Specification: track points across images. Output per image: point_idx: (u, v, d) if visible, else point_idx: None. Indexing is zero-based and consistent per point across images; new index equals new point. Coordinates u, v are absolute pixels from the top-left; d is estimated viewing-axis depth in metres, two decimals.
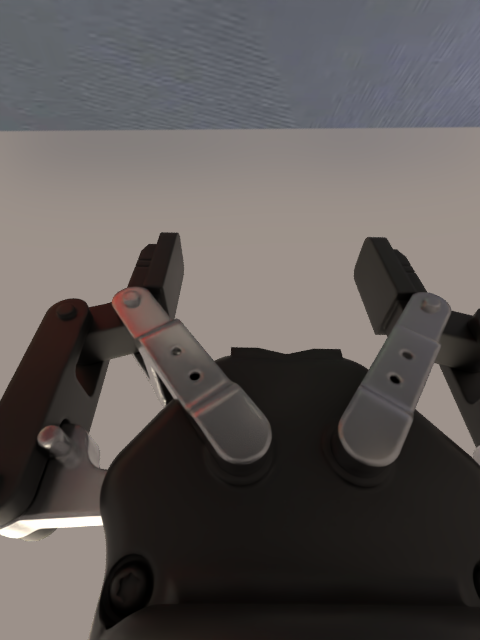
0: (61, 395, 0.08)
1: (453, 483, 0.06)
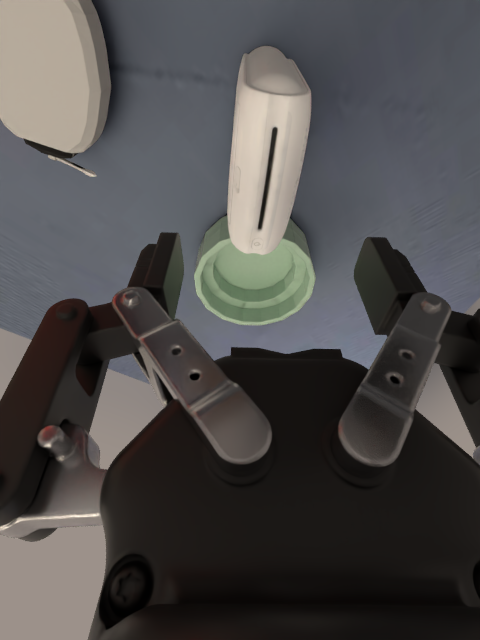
0: (61, 395, 0.08)
1: (453, 483, 0.06)
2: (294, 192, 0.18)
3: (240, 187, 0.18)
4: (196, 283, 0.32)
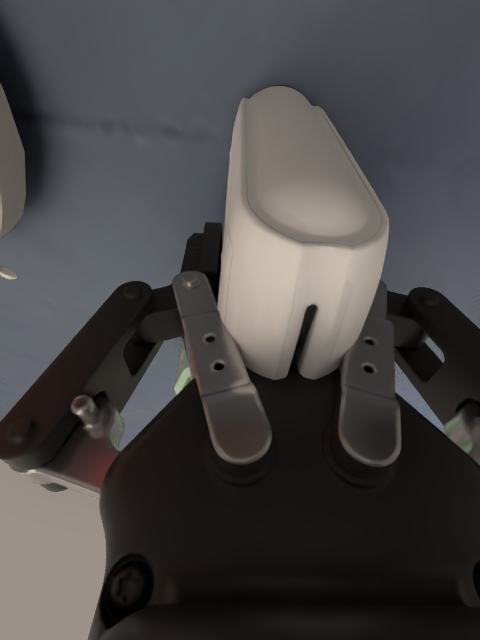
0: (104, 369, 0.08)
1: (453, 483, 0.06)
2: None
3: None
4: None
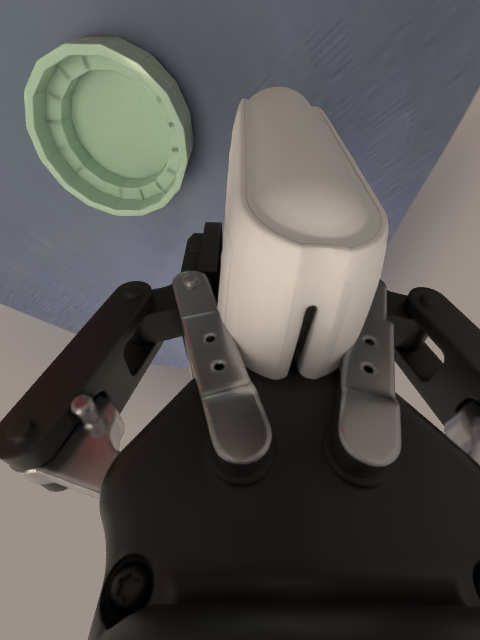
0: (104, 369, 0.08)
1: (453, 483, 0.06)
2: None
3: None
4: (34, 142, 0.25)
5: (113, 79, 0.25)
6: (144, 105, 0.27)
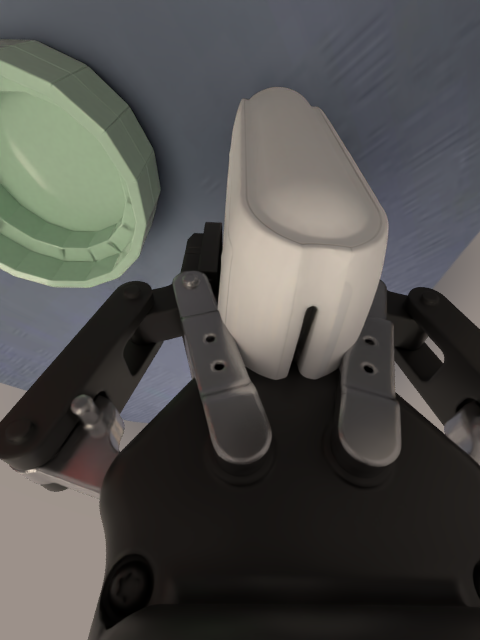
0: (104, 369, 0.08)
1: (453, 483, 0.06)
2: None
3: None
4: None
5: (36, 102, 0.17)
6: (86, 138, 0.18)
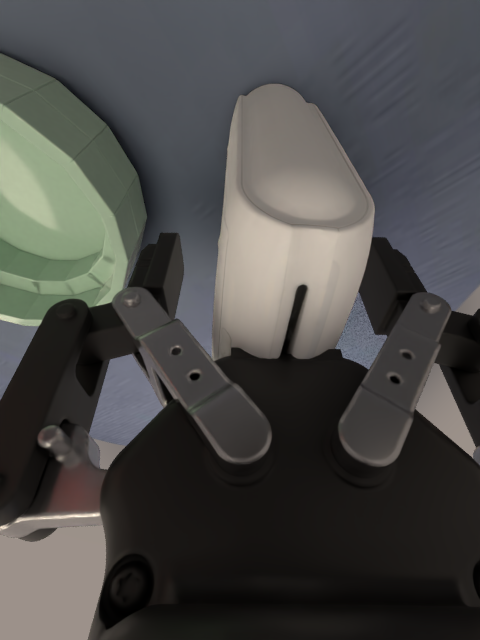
0: (61, 395, 0.08)
1: (453, 483, 0.06)
2: None
3: None
4: None
5: None
6: None
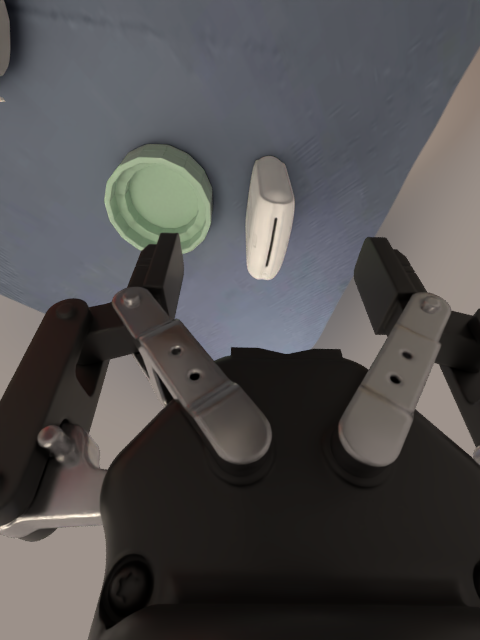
0: (61, 395, 0.08)
1: (453, 483, 0.06)
2: (286, 246, 0.33)
3: (256, 245, 0.32)
4: (107, 210, 0.36)
5: (161, 167, 0.37)
6: (180, 183, 0.39)
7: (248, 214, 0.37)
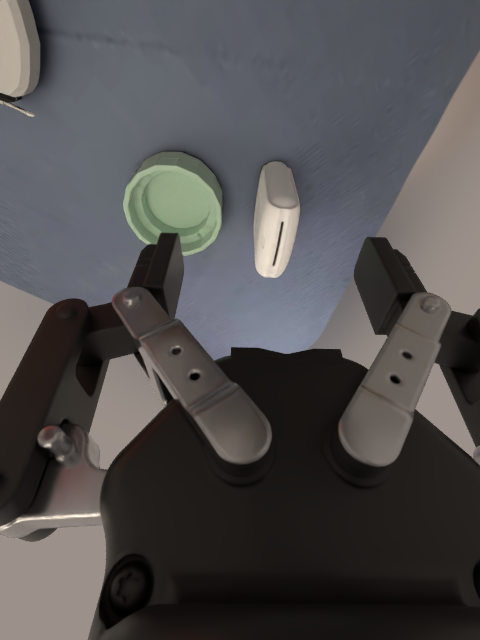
0: (61, 395, 0.08)
1: (453, 483, 0.06)
2: (291, 247, 0.36)
3: (264, 246, 0.35)
4: (126, 213, 0.39)
5: (175, 173, 0.40)
6: (193, 187, 0.41)
7: (256, 216, 0.40)
